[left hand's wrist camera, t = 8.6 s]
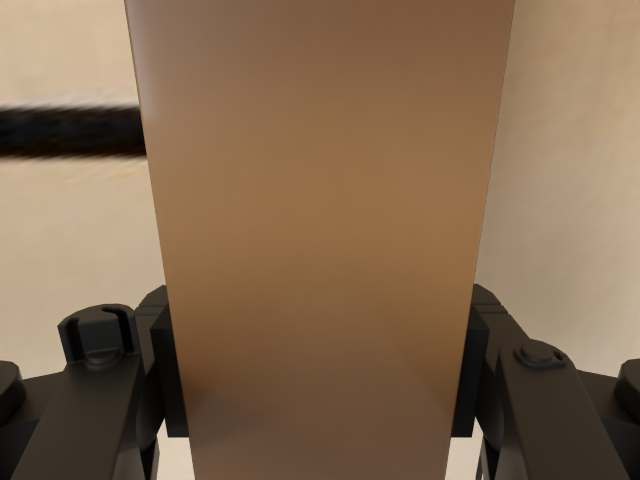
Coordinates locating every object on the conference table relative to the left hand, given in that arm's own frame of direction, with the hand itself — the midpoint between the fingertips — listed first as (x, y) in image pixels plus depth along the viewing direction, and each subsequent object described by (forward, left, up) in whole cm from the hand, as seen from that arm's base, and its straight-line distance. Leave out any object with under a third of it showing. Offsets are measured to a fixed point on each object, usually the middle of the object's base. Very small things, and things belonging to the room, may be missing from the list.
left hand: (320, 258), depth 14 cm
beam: (+28, +21, -1) cm, 35 cm away
